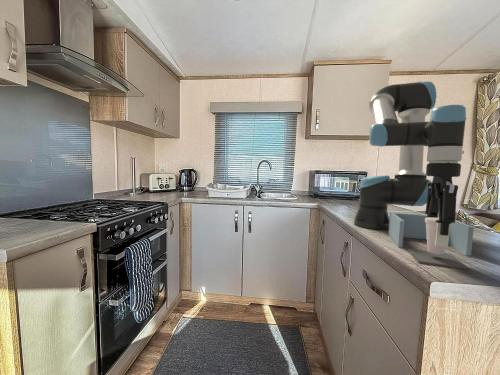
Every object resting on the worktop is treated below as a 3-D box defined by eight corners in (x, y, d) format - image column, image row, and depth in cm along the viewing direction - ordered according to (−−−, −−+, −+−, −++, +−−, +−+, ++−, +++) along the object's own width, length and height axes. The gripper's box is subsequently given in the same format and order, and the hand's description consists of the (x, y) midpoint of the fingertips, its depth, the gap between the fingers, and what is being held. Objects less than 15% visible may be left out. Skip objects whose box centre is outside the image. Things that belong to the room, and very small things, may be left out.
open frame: (388, 234, 93) (390, 212, 93) (447, 240, 87) (449, 217, 86) (398, 247, 78) (400, 220, 77) (470, 256, 71) (473, 227, 70)
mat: (407, 250, 75) (407, 248, 75) (449, 255, 71) (450, 253, 71) (418, 263, 65) (418, 261, 65) (468, 270, 61) (468, 267, 61)
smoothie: (451, 252, 68) (455, 205, 66) (449, 258, 63) (453, 207, 62) (423, 247, 72) (427, 202, 71) (420, 251, 68) (424, 204, 66)
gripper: (479, 161, 55) (470, 255, 57) (445, 163, 73) (438, 235, 75) (441, 161, 58) (433, 251, 60) (417, 163, 76) (411, 232, 78)
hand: (436, 242), depth 67 cm, fingers closed on smoothie, 6 cm apart
